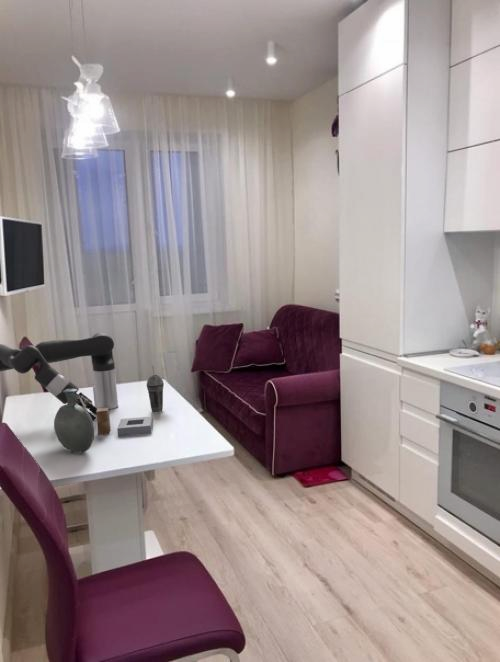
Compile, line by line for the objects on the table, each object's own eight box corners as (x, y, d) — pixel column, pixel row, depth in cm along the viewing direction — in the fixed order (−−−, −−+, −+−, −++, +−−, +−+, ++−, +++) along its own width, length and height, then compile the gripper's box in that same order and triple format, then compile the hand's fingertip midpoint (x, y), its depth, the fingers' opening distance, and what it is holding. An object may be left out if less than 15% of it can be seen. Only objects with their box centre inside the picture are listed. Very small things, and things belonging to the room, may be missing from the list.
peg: (98, 434, 196) (96, 411, 195) (99, 431, 200) (97, 408, 199) (109, 434, 196) (107, 410, 195) (110, 430, 200) (108, 407, 199)
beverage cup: (167, 408, 227) (164, 363, 224) (163, 413, 220) (159, 366, 217) (151, 408, 228) (147, 363, 225) (146, 413, 221) (142, 367, 218)
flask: (88, 442, 188) (82, 382, 185) (99, 456, 174) (93, 391, 171) (54, 449, 183) (47, 387, 180) (63, 464, 168) (56, 397, 165)
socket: (117, 436, 193) (117, 428, 193) (121, 426, 205) (121, 418, 204) (151, 433, 194) (150, 425, 194) (152, 423, 206) (152, 416, 206)
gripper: (60, 391, 200) (93, 418, 203) (50, 401, 186) (85, 430, 189) (73, 377, 200) (106, 404, 203) (64, 385, 186) (100, 414, 189)
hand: (96, 416), depth 196 cm, fingers open, 8 cm apart
